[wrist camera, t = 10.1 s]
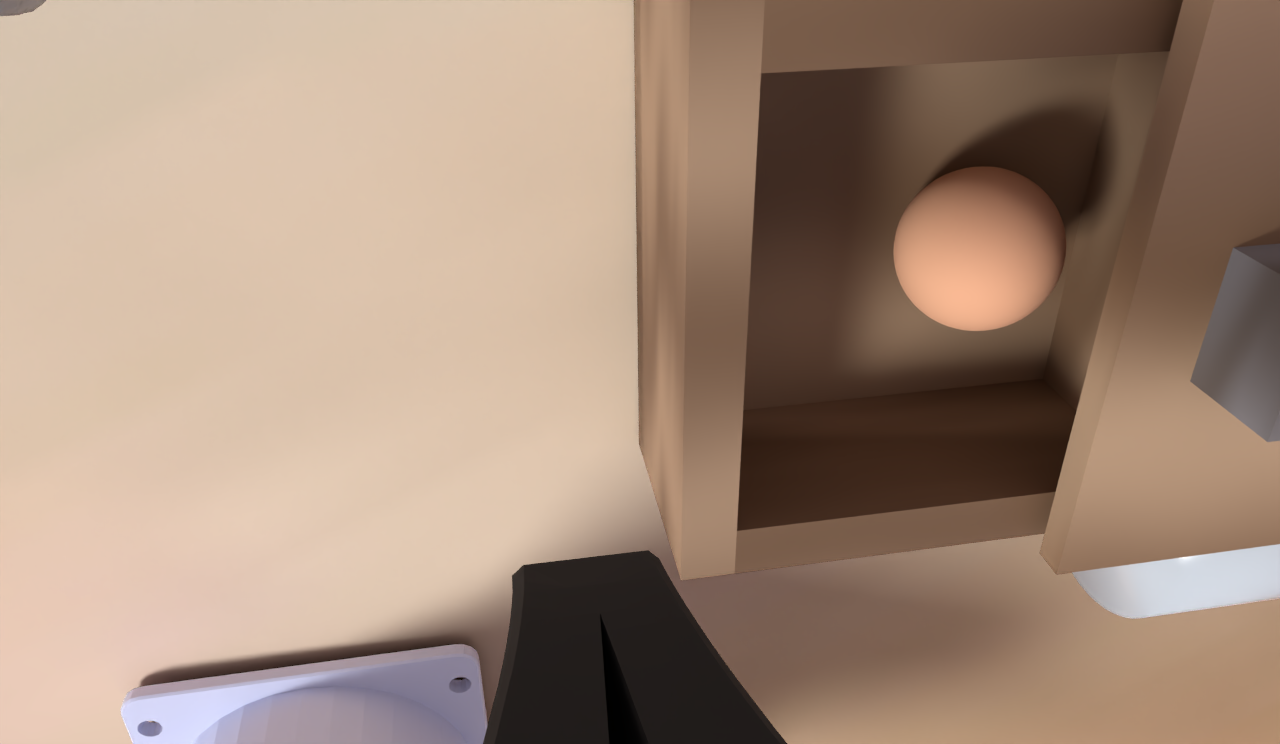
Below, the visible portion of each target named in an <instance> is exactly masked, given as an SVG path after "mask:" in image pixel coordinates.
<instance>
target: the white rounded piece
mask: <svg viewBox="0 0 1280 744" xmlns="http://www.w3.org/2000/svg"><path fill="white" fill-rule="evenodd" d="M1072 574H1073V575H1074V577H1075V578H1076V580H1077V581H1078V583H1079V584H1080V585H1081V586H1082V588H1083V589H1084V590H1085V591H1086V592H1087V594H1088V595H1089V596H1090V597H1091V598H1093V599H1094V600H1095V601H1096V602H1097V603H1098V604H1099V605H1101V606H1102V607H1103V608H1105V609H1106V610H1108V611H1110V612H1112V613H1114V614H1116V615H1119V616H1122V617H1126V618H1133V619H1135V618H1145V617H1153V616H1160V615H1167V614H1174V613H1181V612H1188V611H1195V610H1202V609H1209V608H1216V607H1223V606H1231V605H1238V604H1245V603H1252V602H1259V601H1266V600H1273V599H1280V544H1277V545H1270V546H1262V547H1255V548H1248V549H1240V550H1233V551H1226V552H1218V553H1211V554H1204V555H1196V556H1189V557H1182V558H1174V559H1167V560H1160V561H1152V562H1145V563H1138V564H1130V565H1123V566H1116V567H1108V568H1101V569H1094V570H1086V571H1079V572H1072Z"/></svg>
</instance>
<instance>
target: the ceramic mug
mask: <svg viewBox="0 0 1280 744" xmlns="http://www.w3.org/2000/svg"><path fill="white" fill-rule="evenodd" d="M45 1H46V0H0V16H10V15H20V14H23V13H27V12H32V11H34V10H35V9H36V8H38V7H39V6H40V5H42V4H43V3H44V2H45Z"/></svg>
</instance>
